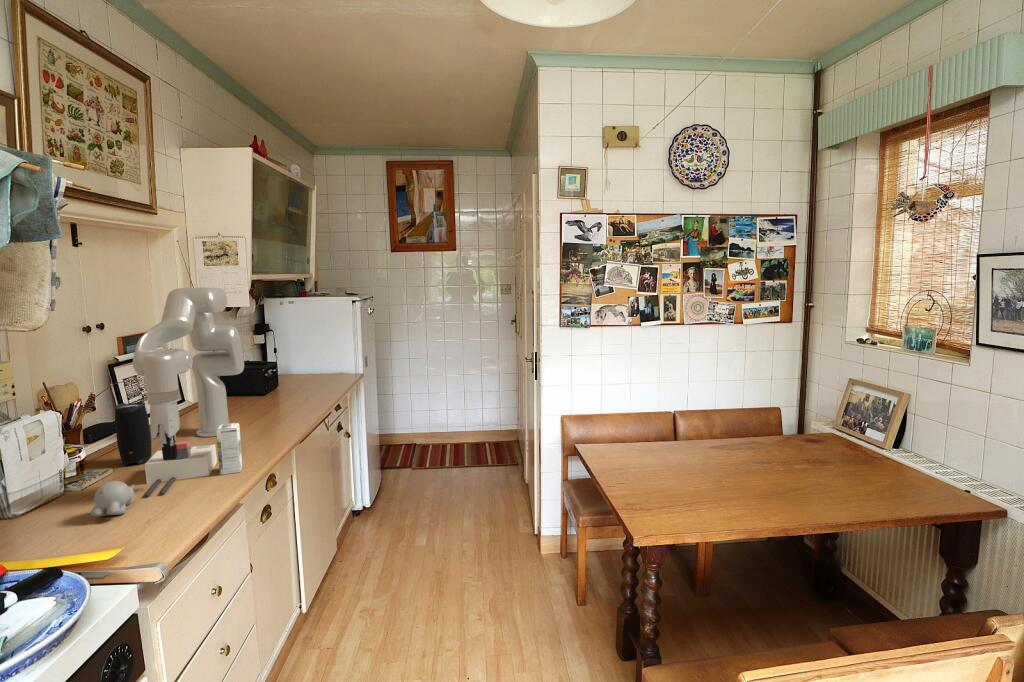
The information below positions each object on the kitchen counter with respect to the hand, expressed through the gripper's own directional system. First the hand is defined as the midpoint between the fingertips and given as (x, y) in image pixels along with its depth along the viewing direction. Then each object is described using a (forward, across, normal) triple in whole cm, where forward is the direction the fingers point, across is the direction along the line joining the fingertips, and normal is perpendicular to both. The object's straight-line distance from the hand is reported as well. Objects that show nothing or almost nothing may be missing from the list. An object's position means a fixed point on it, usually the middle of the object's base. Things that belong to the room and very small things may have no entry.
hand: (170, 458), depth 144 cm
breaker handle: (+2, -7, 0) cm, 7 cm away
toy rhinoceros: (+9, +13, -9) cm, 18 cm away
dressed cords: (+8, +1, -3) cm, 9 cm away
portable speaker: (+9, -27, -17) cm, 33 cm away
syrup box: (+9, -7, +14) cm, 18 cm away
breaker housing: (+8, -11, 0) cm, 14 cm away
